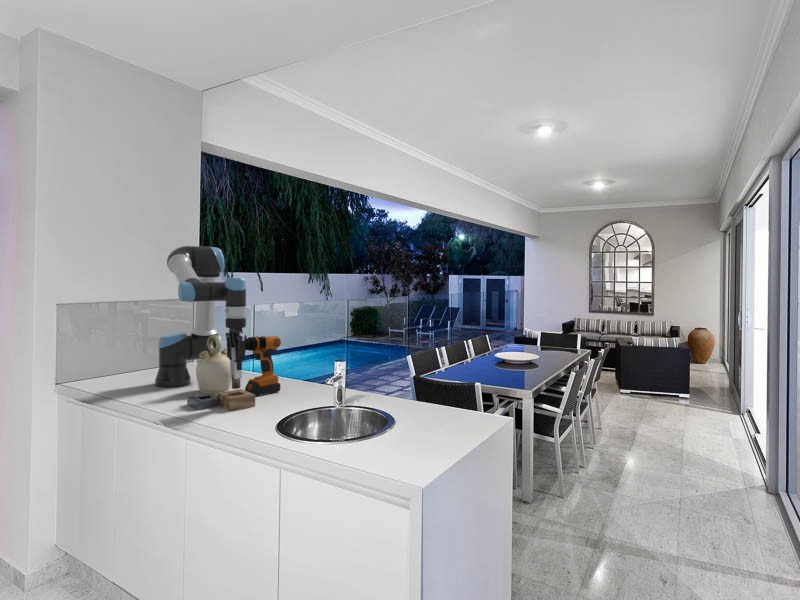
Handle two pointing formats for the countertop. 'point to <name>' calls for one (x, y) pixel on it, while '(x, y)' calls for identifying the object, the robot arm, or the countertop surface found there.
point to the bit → (234, 381)
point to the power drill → (263, 364)
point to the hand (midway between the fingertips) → (236, 377)
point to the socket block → (203, 401)
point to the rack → (236, 399)
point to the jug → (213, 369)
